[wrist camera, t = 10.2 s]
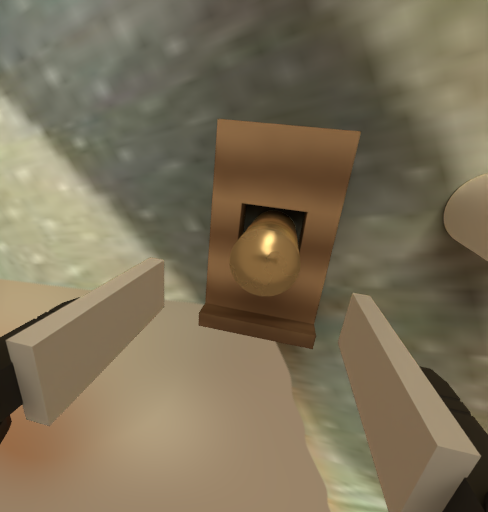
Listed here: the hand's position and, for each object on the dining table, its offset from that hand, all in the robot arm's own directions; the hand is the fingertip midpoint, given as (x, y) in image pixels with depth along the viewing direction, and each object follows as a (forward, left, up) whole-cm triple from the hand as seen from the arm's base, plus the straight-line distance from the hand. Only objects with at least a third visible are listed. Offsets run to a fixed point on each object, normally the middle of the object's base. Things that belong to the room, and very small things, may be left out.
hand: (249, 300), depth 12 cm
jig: (0, 0, -15) cm, 15 cm away
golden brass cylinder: (0, 0, -15) cm, 15 cm away
